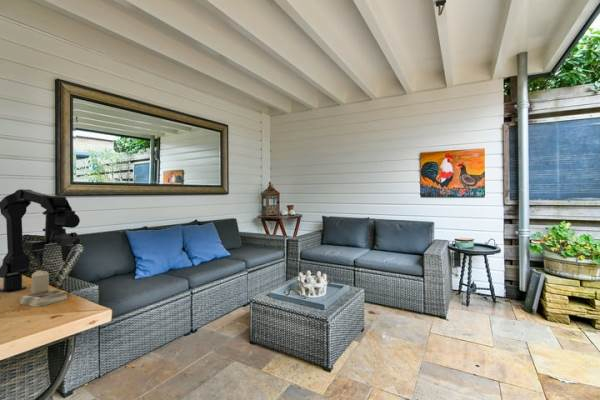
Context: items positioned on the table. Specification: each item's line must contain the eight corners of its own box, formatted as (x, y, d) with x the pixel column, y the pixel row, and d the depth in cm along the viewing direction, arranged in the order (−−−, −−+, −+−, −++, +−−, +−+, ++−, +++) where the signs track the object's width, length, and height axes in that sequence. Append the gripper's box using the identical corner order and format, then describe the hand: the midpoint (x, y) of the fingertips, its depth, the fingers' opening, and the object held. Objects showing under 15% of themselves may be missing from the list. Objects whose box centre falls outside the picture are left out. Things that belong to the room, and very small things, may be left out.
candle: (52, 293, 128) (52, 269, 128) (39, 297, 122) (40, 272, 122) (40, 292, 128) (40, 269, 128) (27, 296, 123) (27, 272, 123)
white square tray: (20, 303, 114) (20, 296, 114) (48, 296, 124) (48, 288, 124) (39, 307, 112) (39, 299, 112) (67, 298, 121) (67, 291, 121)
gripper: (43, 229, 113) (42, 271, 113) (90, 225, 131) (89, 261, 131) (22, 227, 116) (21, 267, 116) (71, 224, 134) (69, 259, 134)
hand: (52, 263), depth 124 cm, fingers open, 9 cm apart
